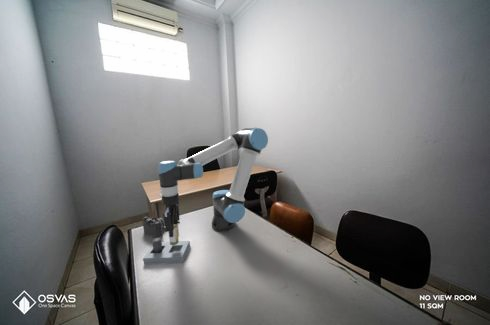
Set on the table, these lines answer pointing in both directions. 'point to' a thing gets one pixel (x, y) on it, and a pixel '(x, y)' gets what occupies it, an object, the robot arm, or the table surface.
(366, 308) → the table surface
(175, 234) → the brass cylinder
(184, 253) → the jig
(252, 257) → the table surface
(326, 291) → the table surface
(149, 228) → the camera
